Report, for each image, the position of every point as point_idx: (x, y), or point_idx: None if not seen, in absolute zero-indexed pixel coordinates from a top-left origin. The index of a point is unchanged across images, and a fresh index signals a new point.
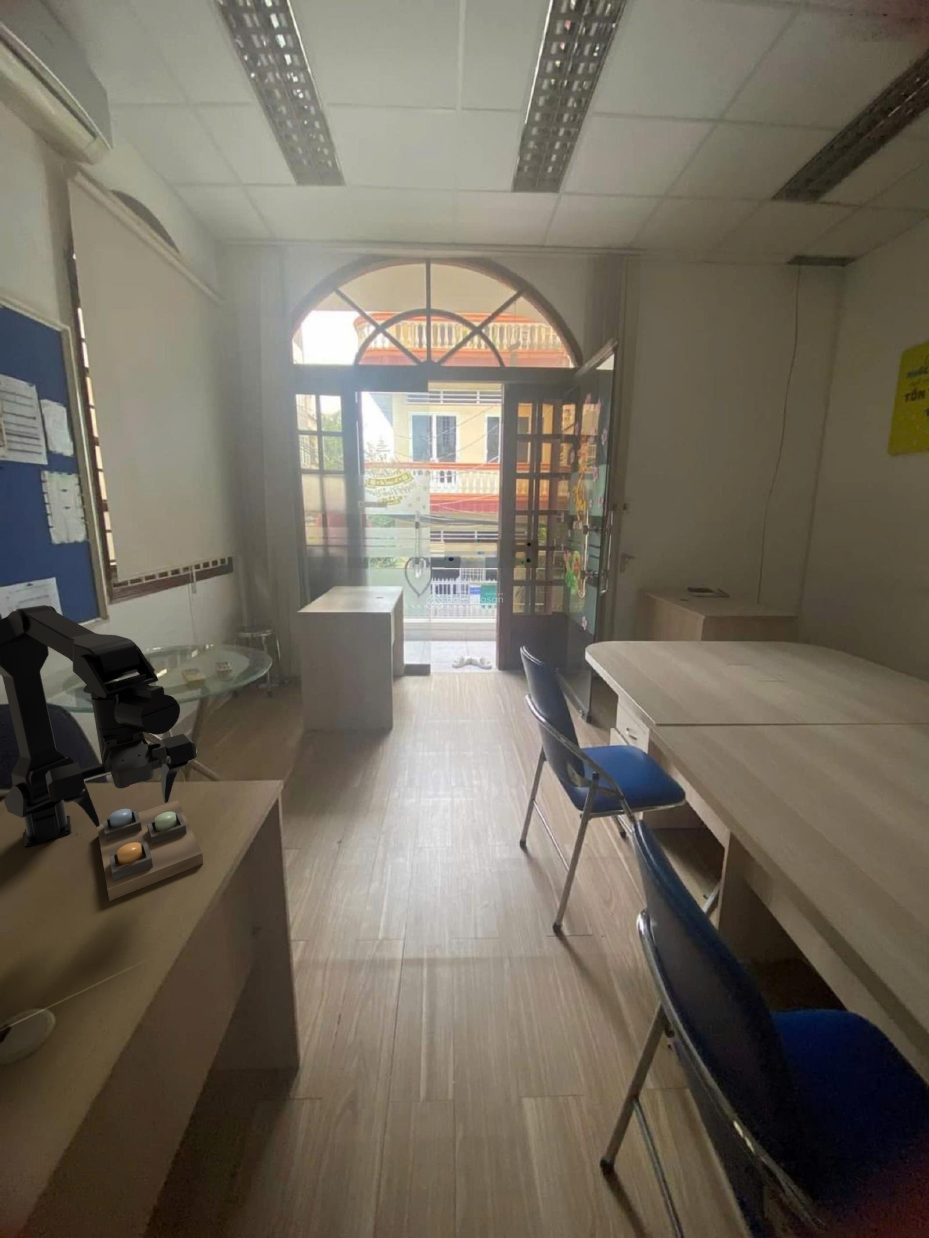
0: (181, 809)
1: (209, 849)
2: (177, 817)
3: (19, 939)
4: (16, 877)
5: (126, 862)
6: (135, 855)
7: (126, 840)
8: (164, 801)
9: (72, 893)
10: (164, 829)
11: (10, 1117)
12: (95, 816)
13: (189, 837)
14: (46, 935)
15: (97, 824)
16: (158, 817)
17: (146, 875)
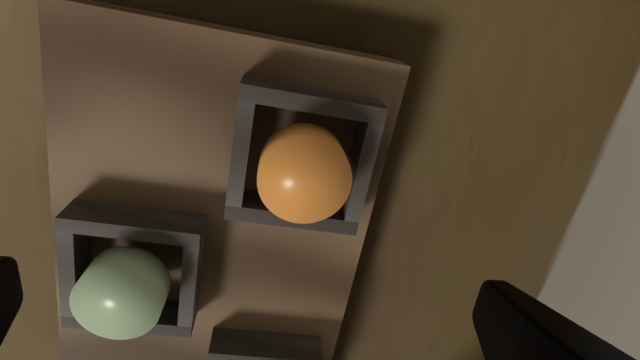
0: (63, 357)
1: (26, 79)
2: None
3: (608, 95)
4: None
5: (328, 132)
6: (293, 132)
7: (270, 304)
8: (16, 280)
9: (447, 193)
10: (142, 252)
11: None
12: (567, 337)
13: (69, 160)
14: (566, 50)
15: (507, 289)
16: (142, 321)
17: (278, 41)
